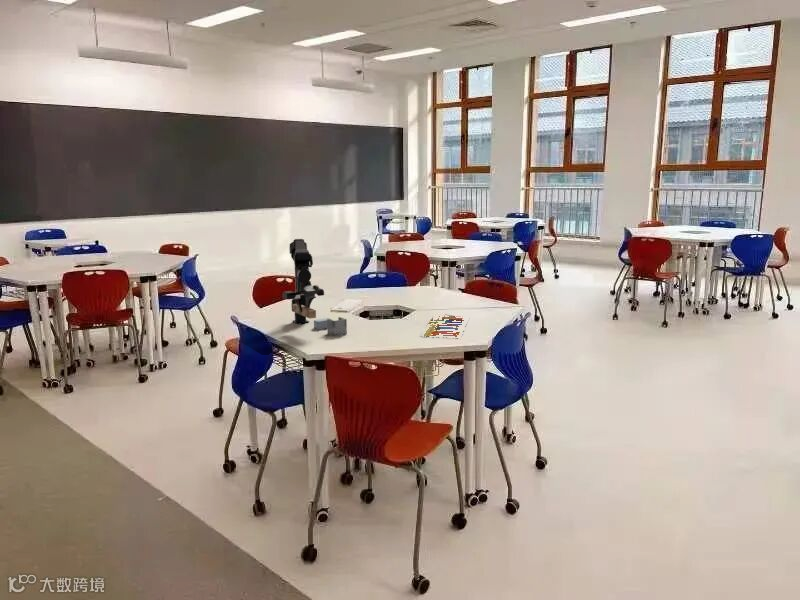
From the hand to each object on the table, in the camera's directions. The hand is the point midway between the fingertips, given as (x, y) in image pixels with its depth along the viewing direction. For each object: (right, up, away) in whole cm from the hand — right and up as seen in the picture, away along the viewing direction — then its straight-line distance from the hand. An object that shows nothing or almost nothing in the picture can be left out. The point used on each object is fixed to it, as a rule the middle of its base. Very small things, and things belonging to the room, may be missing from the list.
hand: (304, 311), depth 278 cm
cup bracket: (+15, -10, +3) cm, 19 cm away
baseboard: (+15, +1, +65) cm, 67 cm away
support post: (+7, -8, +15) cm, 18 cm away
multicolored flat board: (+68, -8, +17) cm, 70 cm away
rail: (0, -1, 0) cm, 1 cm away
